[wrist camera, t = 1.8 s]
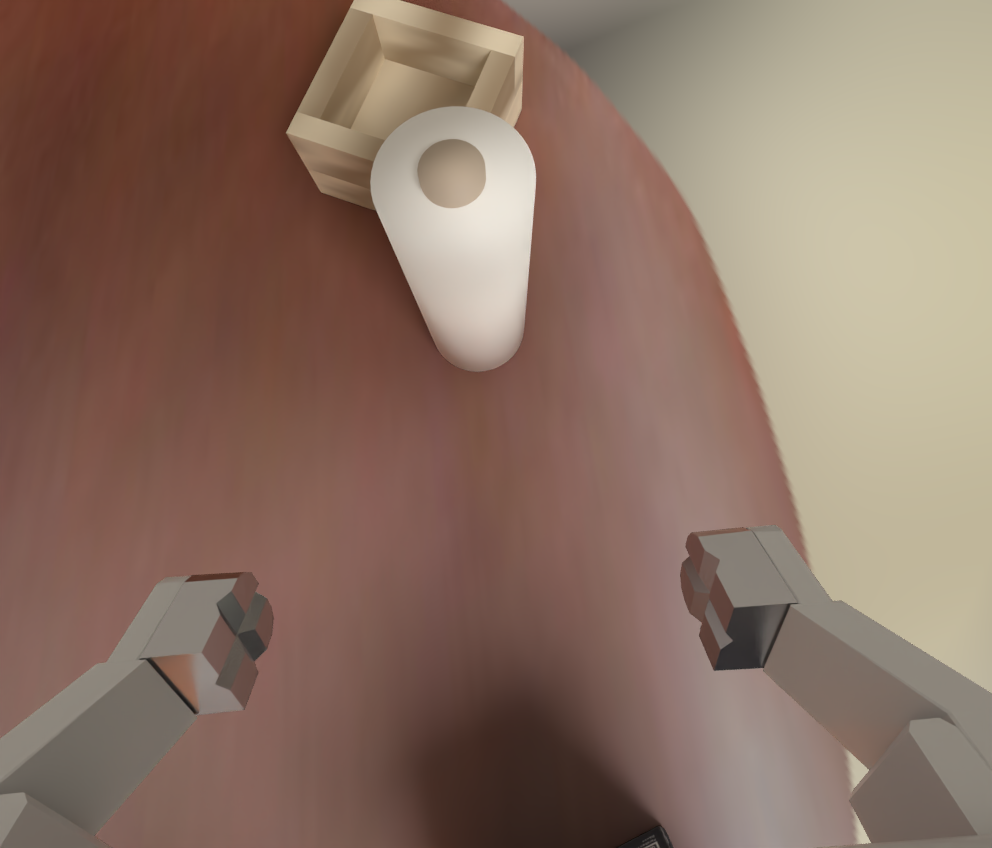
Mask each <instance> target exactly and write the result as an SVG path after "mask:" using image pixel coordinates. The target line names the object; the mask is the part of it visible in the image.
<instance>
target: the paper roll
mask: <svg viewBox="0 0 992 848" xmlns="http://www.w3.org/2000/svg"><path fill="white" fill-rule="evenodd" d="M370 185H371V195H372V200H373V203H374V206H375V209H376V211H377V213H378V216H379V218H380V220H381V222H382V225H383V227H384V229H385V232H386V234H387V236H388V238H389V241H390V243H391V245H392V247H393V250H394V252H395V254H396V257H397V259H398V261H399V263H400V266H401V268H402V270H403V272H404V275H405V277H406V279H407V282H408V284H409V286H410V288H411V291H412V293H413V295H414V297H415V300H416V302H417V304H418V307H419V309H420V311H421V313H422V316H423V318H424V320H425V322H426V325H427V327H428V329H429V332H430V334H431V336H432V338H433V341H434V343H435V345H436V347H437V349H438V351H439V352H440V354H441V355H442V356H443V357H444V358H445V359H446V360H447V361H448V362H449V363H451V364H452V365H454V366H456V367H458V368H460V369H463V370H467V371H473V372H481V371H488V370H492V369H495V368H497V367H499V366H501V365H503V364H504V363H506V362H507V361H508V360H509V359H511V358H512V357H513V355H514V354H515V353H516V352H517V350H518V348H519V347H520V344H521V342H522V339H523V335H524V326H525V313H526V301H527V288H528V275H529V263H530V250H531V238H532V225H533V212H534V200H535V187H536V171H535V164H534V160H533V157H532V154H531V152H530V149H529V147H528V145H527V144H526V142H525V141H524V139H523V138H522V136H521V135H520V134H519V133H518V132H517V131H516V130H515V129H514V128H513V127H512V126H511V125H510V124H508V123H507V122H506V121H504V120H503V119H501V118H499V117H498V116H496V115H494V114H492V113H489V112H486V111H484V110H480V109H476V108H471V107H463V106H450V107H441V108H436V109H432V110H429V111H426V112H423V113H420V114H418V115H416V116H414V117H412V118H410V119H409V120H407V121H405V122H404V123H402V124H401V125H400V126H399V127H398V128H396V129H395V130H394V131H393V132H392V133H391V134H390V135H389V136H388V137H387V139H386V140H385V141H384V143H383V144H382V146H381V147H380V149H379V151H378V153H377V155H376V158H375V160H374V163H373V167H372V171H371V180H370Z"/></svg>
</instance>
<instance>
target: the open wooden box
mask: <svg viewBox="0 0 992 848" xmlns="http://www.w3.org/2000/svg"><path fill="white" fill-rule="evenodd" d="M523 46H524V37H523V36H520V35H516V34H513V33H509V32H506V31H503V30H499V29H496V28H492V27H489V26H486V25H482V24H479V23H475V22H472V21H469V20H465V19H462V18H458V17H455V16H452V15H448V14H445V13H441V12H438V11H434V10H431V9H428V8H424V7H421V6H417V5H414V4H411V3H407V2H404V1H400V0H354V1H353V3H352V5H351V7H350V9H349V11H348V13H347V15H346V17H345V19H344V21H343V23H342V25H341V27H340V29H339V31H338V32H337V34H336V36H335V38H334V40H333V42H332V44H331V46H330V48H329V50H328V52H327V54H326V56H325V58H324V60H323V62H322V64H321V66H320V67H319V69H318V71H317V73H316V75H315V77H314V79H313V81H312V83H311V85H310V87H309V89H308V91H307V93H306V95H305V97H304V99H303V101H302V102H301V104H300V106H299V108H298V110H297V112H296V114H295V116H294V118H293V120H292V122H291V124H290V126H289V128H288V130H287V132H286V134H287V135H288V137H289V139H290V141H291V142H292V144H293V146H294V147H295V149H296V151H297V152H298V154H299V156H300V158H301V159H302V161H303V163H304V164H305V166H306V168H307V169H308V171H309V173H310V175H311V176H312V178H313V180H314V181H315V183H316V185H317V186H318V188H319V190H320V192H321V193H324V194H327V195H330V196H333V197H336V198H339V199H342V200H345V201H348V202H351V203H354V204H357V205H360V206H363V207H366V208H369V209H372V210H375V211H376V209H375V206H374V203H373V200H372V195H371V185H370V180H371V171H372V167H373V163H374V160H375V158H376V155H377V153H378V151H379V149H380V147H381V146H382V144H383V143H384V141H385V140H386V139H387V137H388V136H389V135H390V134H391V133H392V132H393V131H394V130H395V129H396V128H398V127H399V126H400V125H401V124H402V123H404V122H405V121H407V120H409V119H410V118H412V117H414V116H416V115H418V114H420V113H423V112H426V111H429V110H432V109H436V108H441V107H450V106H463V107H471V108H476V109H480V110H484V111H486V112H489V113H492V114H494V115H496V116H498V117H499V118H501V119H503V120H504V121H506V122H507V123H508V124H510V125H511V126H512V127H513V128H514V126H515V124H516V122H517V119H518V117H519V115H520V112H521V110H522V80H523Z"/></svg>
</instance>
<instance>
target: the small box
mask: <svg viewBox="0 0 992 848" xmlns="http://www.w3.org/2000/svg"><path fill="white" fill-rule="evenodd" d="M618 848H673V845H672V843H671V841H670V839H669V837H668V835H667V833H666V831H665V829H664V828H662V827H660V826H658V827H655V828H654V829H652V830H650V831H648V832H646V833H644V834H642V835H640V836H639V837H637V838H634V839H632V840H631V841H629V842H627V843H625V844H623V845H621V846H619V847H618Z"/></svg>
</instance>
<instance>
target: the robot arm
mask: <svg viewBox="0 0 992 848" xmlns="http://www.w3.org/2000/svg"><path fill="white" fill-rule="evenodd" d="M685 547H686V549H687V551H688V553H689V557H688V558H687V559H686V560H685V561H684V562H682V567H681V573H680V577H681V588H682V592H683V596H684V600H685V603H686V605H687V608H688V610H689V613H690V614H691V615H693V616H694V617H695V618H696V619H698V620H699V621H700V622H702V626H701V630H700V634H699V637H700V639H701V641H702V644H703V646H704V648H705V651H706V653H707V656H708V658H709V660H710V663H711V665H712V667H713V670H714V671H719V670H737V669H756V668H764V669H763V671H764V672H765V673H766V674H767V675H768V676H769V677H770V678H771V679H772V680H773V681H774V682H775V683H777V684H778V685H779V686H780V687H781V688H782V689H783V690H784V691H785V692H786V693H787V694H788V695H789V696H791V697H792V698H793V699H794V700H795V701H796V702H797V703H798V704H799V705H800V706H801V707H802V708H803V709H804V710H806V711H807V712H808V713H809V714H810V715H811V716H812V717H813V718H814V719H815V720H816V721H817V722H818V723H819V724H821V725H822V726H823V727H824V728H825V729H826V730H827V731H828V732H829V733H830V734H831V735H832V736H833V737H835V738H836V739H837V740H838V741H839V742H840V743H841V744H842V745H843V746H844V747H845V748H846V749H847V750H848V751H850V752H851V753H852V754H853V755H854V756H855V757H856V758H857V759H858V760H859V761H860V762H861V763H862V764H864V765H865V766H866V767H867V768H868V769H869V771H868V773H867V774H866V775H865V776H864V778H863V779H862V780H861V781H860V783H859V784H858V785H857V786H856V787H855V788H854V790H853V791H852V794H851V797H850V799H849V801H850V803H851V805H852V807H853V809H854V811H855V812H856V814H857V816H858V818H859V820H860V822H861V824H862V826H863V828H864V830H865V832H866V834H867V836H868V837H869V839H870V841H871V843H869V844H856V845H843V846H831V847H818V848H992V693H990V692H989V691H987V690H985V689H984V688H982V687H981V686H979V685H977V684H976V683H974V682H972V681H971V680H969V679H967V678H966V677H964V676H963V675H961V674H960V673H958V672H956V671H955V670H953V669H951V668H950V667H948V666H946V665H945V664H943V663H942V662H940V661H939V660H937V659H935V658H934V657H932V656H930V655H929V654H927V653H926V652H924V651H922V650H921V649H919V648H918V647H916V646H914V645H913V644H911V643H909V642H908V641H906V640H905V639H903V638H901V637H900V636H898V635H896V634H895V633H893V632H892V631H890V630H888V629H886V628H885V627H884V626H882V625H880V624H879V623H877V622H875V621H874V620H872V619H870V618H869V617H867V616H866V615H864V614H862V613H861V612H859V611H858V610H856V609H854V608H853V607H851V606H850V605H848V604H846V603H844V602H843V601H832V600H831V598H830V597H829V596H828V594H827V593H826V591H825V590H824V588H823V587H822V586H821V584H820V583H819V581H818V580H817V579H816V577H815V576H814V574H813V573H812V572H811V570H810V569H809V567H808V566H807V565H806V563H805V562H804V561H803V559H802V558H801V556H800V555H799V554H798V552H797V551H796V549H795V548H794V547H793V545H792V544H791V542H790V541H789V540H788V538H787V537H786V535H785V534H784V533H783V531H782V530H781V529H780V528H779V527H777V526H776V525H769V526H758V527H747V528H743V527H742V528H732V529H722V530H712V531H701V532H691V533H690V535H689V536H688V537H687V542H686V546H685ZM258 584H259V583H258V581H257V580H256V578H255V577H254V575H253V574H252V572H238V573H221V574H205V575H191V576H177V577H166V578H164V579H163V580H162V581H160V582H159V583H157V584H156V586H155V587H154V589H153V590H152V592H151V593H150V595H149V597H148V598H147V600H146V601H145V603H144V604H143V606H142V607H141V609H140V611H139V612H138V614H137V615H136V617H135V618H134V620H133V621H132V623H131V625H130V626H129V628H128V629H127V631H126V632H125V634H124V635H123V637H122V639H121V640H120V642H119V643H118V645H117V646H116V648H115V649H114V651H113V653H112V654H111V656H110V657H109V659H108V660H107V662H106V663H97V664H96V665H95V666H93V667H92V668H91V669H90V670H88V671H87V672H86V673H84V674H83V675H82V676H80V677H79V678H78V679H77V680H75V681H74V682H73V683H71V684H70V685H69V686H68V687H66V688H65V689H64V690H62V691H61V692H60V693H59V694H57V695H56V696H55V697H53V698H52V699H51V700H50V701H48V702H47V703H46V704H44V705H43V706H42V707H40V708H39V709H38V710H37V711H35V712H34V713H33V714H31V715H30V716H29V717H28V718H26V719H25V720H24V721H22V722H21V723H20V724H19V725H17V726H16V727H15V728H13V729H12V730H11V731H10V732H8V733H7V734H6V735H4V736H3V737H2V738H0V848H112V847H110V846H109V845H107V844H106V843H104V842H102V841H101V840H99V839H98V838H96V837H94V836H95V835H96V834H97V832H98V831H99V830H100V829H101V828H102V827H103V826H104V824H105V823H106V822H107V821H108V820H109V819H110V818H111V816H112V815H113V814H114V813H115V812H116V811H117V810H118V808H119V807H120V806H121V805H122V804H123V803H124V801H125V800H126V799H127V798H128V797H129V796H130V795H131V793H132V792H133V791H134V790H135V789H136V788H137V787H138V785H139V784H140V783H141V782H142V781H143V780H144V779H145V777H146V776H147V775H148V774H149V773H150V772H151V771H152V769H153V768H154V767H155V766H156V765H157V764H158V763H159V761H160V760H161V759H162V758H163V757H164V756H165V755H166V753H167V752H168V751H169V750H170V749H171V748H172V746H173V745H174V744H175V743H176V742H177V741H178V740H179V738H180V737H181V736H182V735H183V734H184V733H185V732H186V730H187V729H188V728H189V727H190V726H191V725H192V724H193V722H194V721H195V720H196V719H197V716H196V715H203V714H212V713H221V712H229V711H238V710H245V708H246V705H247V702H248V700H249V697H250V694H251V691H252V689H253V686H254V683H255V681H256V678H257V675H258V670H257V667H256V664H255V660H256V659H257V658H258V657H259V656H260V655H261V654H262V653H264V652H265V651H266V650H267V648H268V645H269V642H270V639H271V636H272V631H273V620H274V617H273V612H272V607H271V605H270V603H269V601H268V599H267V598H265V597H264V596H262V595H260V594H258V593H257V592H255V591H256V589H257V586H258Z"/></svg>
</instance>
